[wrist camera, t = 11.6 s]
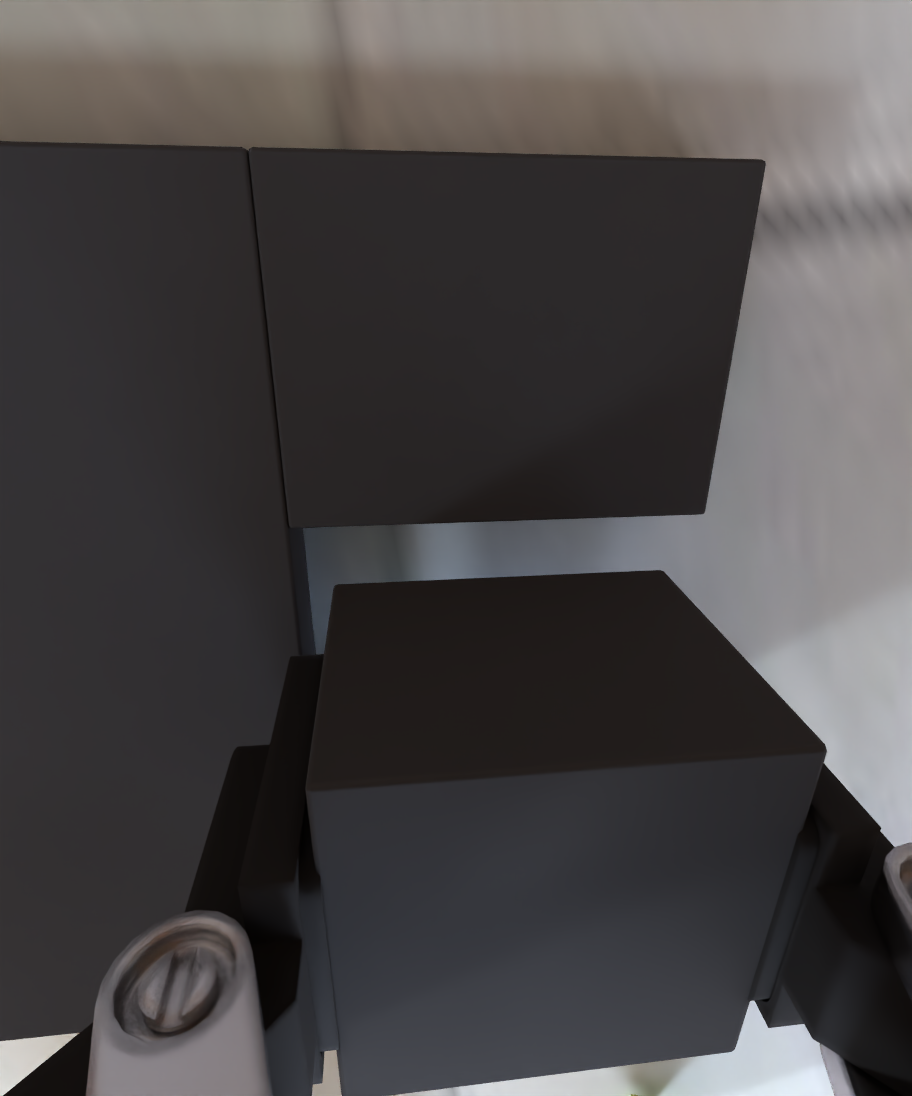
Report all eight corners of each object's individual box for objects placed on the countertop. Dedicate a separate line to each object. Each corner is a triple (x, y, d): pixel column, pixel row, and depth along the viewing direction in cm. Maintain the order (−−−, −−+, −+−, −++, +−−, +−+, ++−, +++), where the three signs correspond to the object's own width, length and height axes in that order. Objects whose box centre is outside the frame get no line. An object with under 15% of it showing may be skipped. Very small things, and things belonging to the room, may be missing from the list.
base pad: (712, 174, 9) (768, 159, 8) (604, 914, 16) (624, 975, 14) (-729, 143, 8) (-973, 116, 6) (-187, 991, 14) (-248, 1070, 13)
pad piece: (662, 568, 10) (832, 747, 6) (626, 810, 12) (736, 1054, 8) (333, 583, 9) (304, 786, 6) (353, 834, 11) (342, 1104, 8)
